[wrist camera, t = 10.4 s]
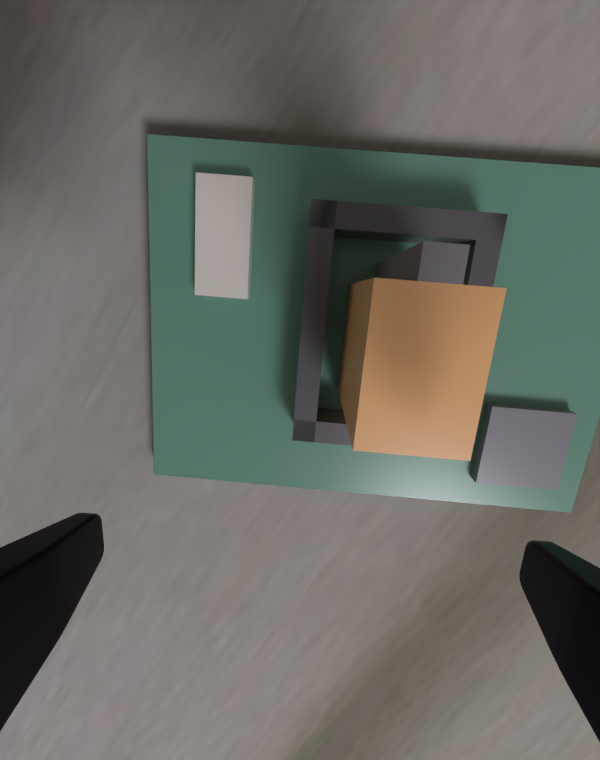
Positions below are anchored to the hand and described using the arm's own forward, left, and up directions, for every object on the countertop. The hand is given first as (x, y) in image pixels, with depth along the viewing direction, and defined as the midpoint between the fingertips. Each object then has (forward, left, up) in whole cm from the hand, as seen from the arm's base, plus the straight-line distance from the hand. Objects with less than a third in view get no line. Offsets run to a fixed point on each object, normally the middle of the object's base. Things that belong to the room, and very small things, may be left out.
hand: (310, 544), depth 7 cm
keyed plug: (+3, +3, -10) cm, 11 cm away
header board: (+3, +3, -11) cm, 12 cm away
